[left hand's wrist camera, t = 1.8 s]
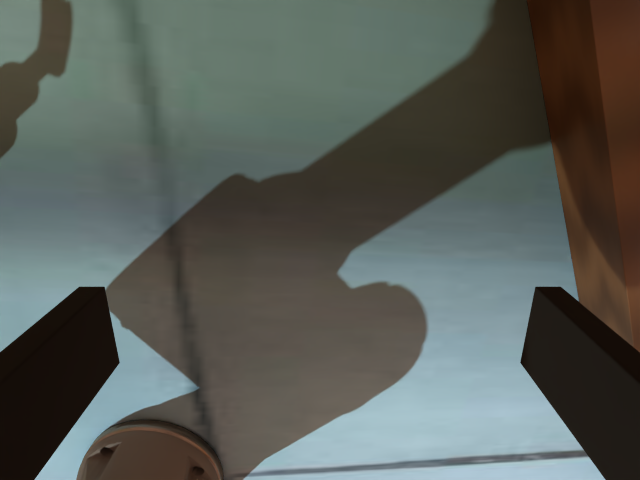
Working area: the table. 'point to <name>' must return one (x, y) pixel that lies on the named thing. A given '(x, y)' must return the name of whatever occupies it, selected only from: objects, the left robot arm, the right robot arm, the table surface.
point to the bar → (596, 145)
